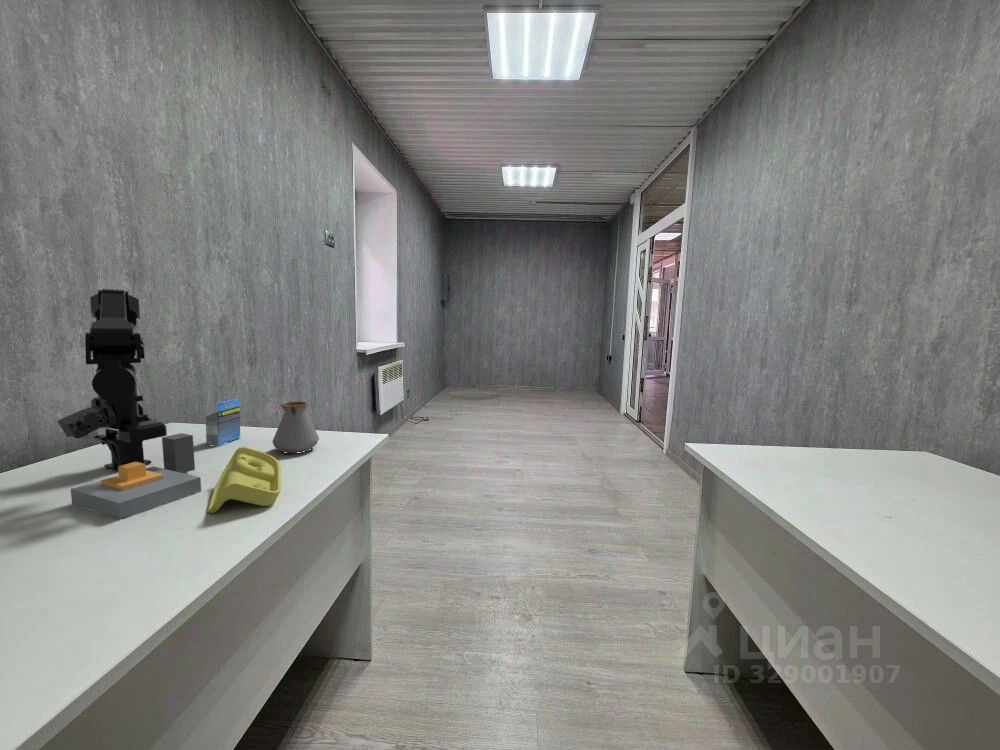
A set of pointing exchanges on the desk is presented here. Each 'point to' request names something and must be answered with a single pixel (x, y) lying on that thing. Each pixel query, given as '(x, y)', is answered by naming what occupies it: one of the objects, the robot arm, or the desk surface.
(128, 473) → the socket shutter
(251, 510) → the desk surface
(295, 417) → the coffee pot
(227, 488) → the plastic component
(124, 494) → the socket board
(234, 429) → the label tape box
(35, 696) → the desk surface
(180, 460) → the grey box
